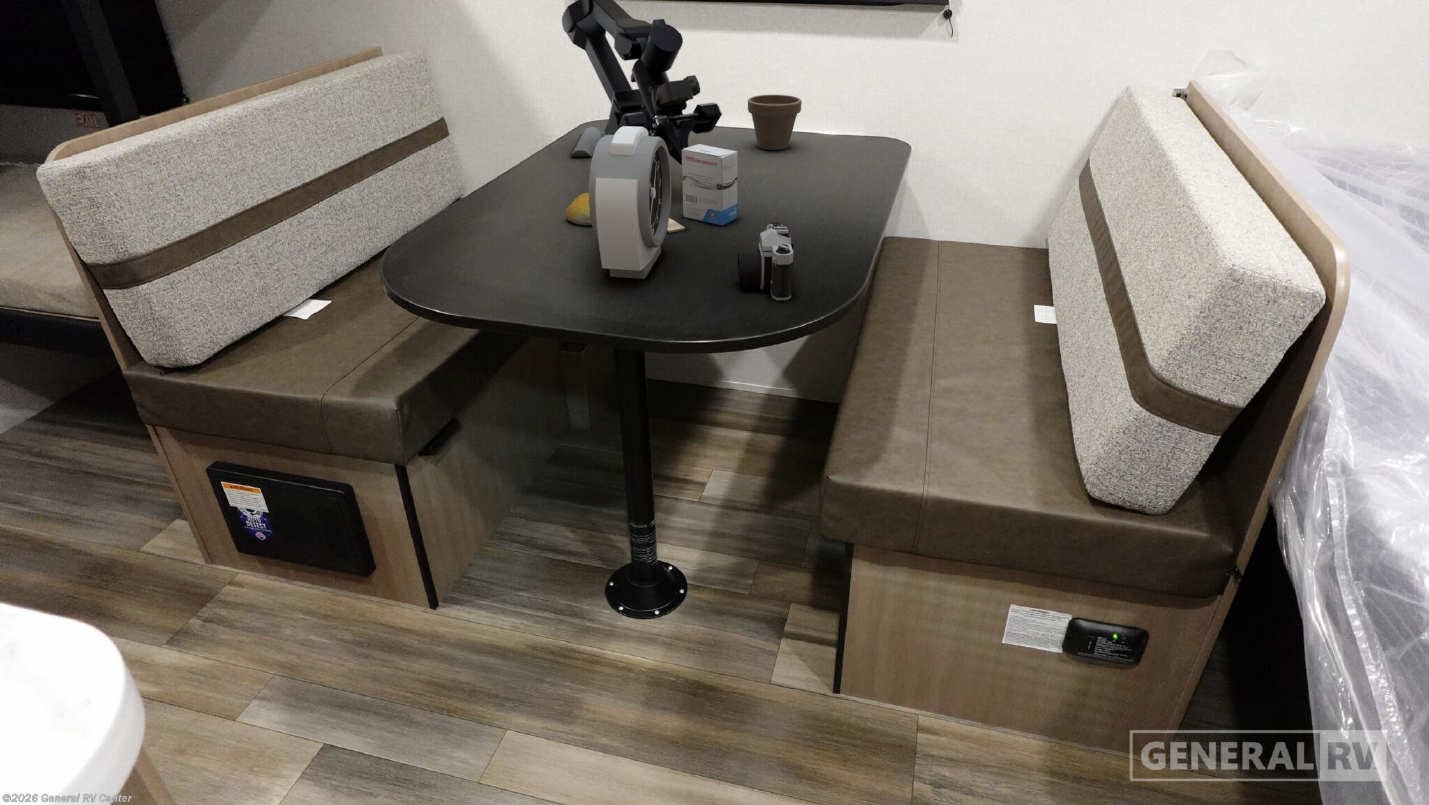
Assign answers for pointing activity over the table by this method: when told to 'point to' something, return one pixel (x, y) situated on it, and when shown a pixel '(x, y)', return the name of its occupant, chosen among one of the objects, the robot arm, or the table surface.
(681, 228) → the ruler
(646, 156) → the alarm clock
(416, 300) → the table surface
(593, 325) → the table surface
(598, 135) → the half round rod
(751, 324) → the table surface
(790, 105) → the flower pot
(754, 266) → the camera
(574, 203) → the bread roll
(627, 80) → the robot arm
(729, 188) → the ink box
